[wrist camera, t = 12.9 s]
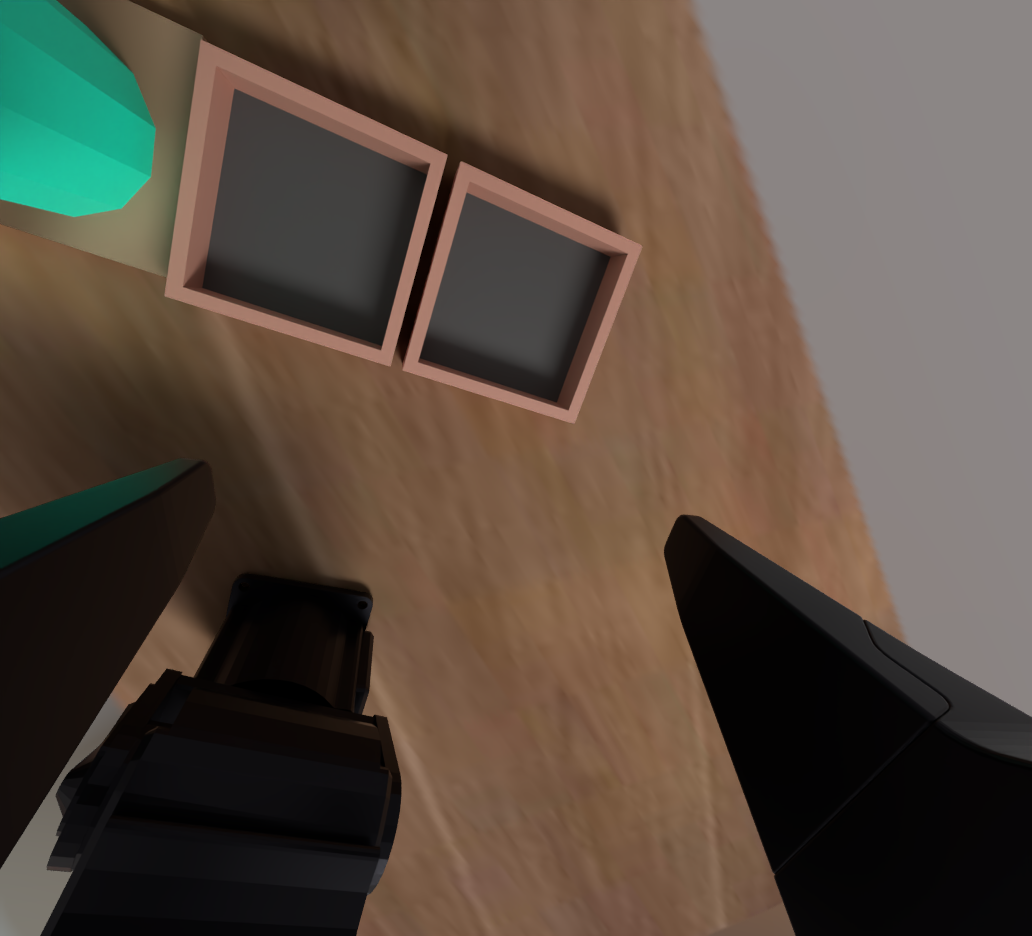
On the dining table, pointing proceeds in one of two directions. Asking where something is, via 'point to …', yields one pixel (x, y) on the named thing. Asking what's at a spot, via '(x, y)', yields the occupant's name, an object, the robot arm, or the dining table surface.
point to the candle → (67, 115)
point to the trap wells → (385, 245)
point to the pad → (168, 96)
